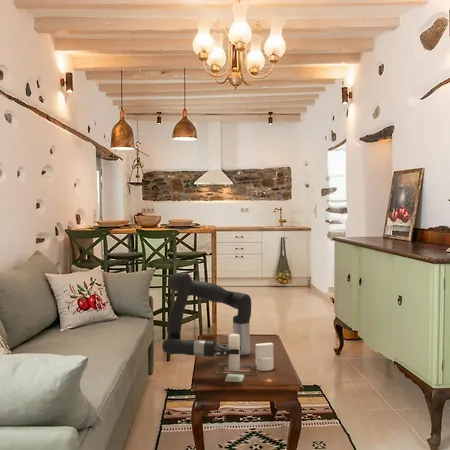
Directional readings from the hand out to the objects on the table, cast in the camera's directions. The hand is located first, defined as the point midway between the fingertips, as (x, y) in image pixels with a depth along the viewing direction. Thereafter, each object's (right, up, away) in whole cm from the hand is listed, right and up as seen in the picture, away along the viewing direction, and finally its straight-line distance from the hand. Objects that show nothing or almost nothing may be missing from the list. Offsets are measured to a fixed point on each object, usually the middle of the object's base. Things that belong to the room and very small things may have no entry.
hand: (239, 350), depth 216 cm
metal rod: (-1, -10, +8) cm, 13 cm away
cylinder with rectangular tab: (+13, -13, +16) cm, 24 cm away
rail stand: (-1, -13, +8) cm, 16 cm away
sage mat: (-2, -14, +1) cm, 14 cm away
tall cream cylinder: (-3, -9, +1) cm, 9 cm away
